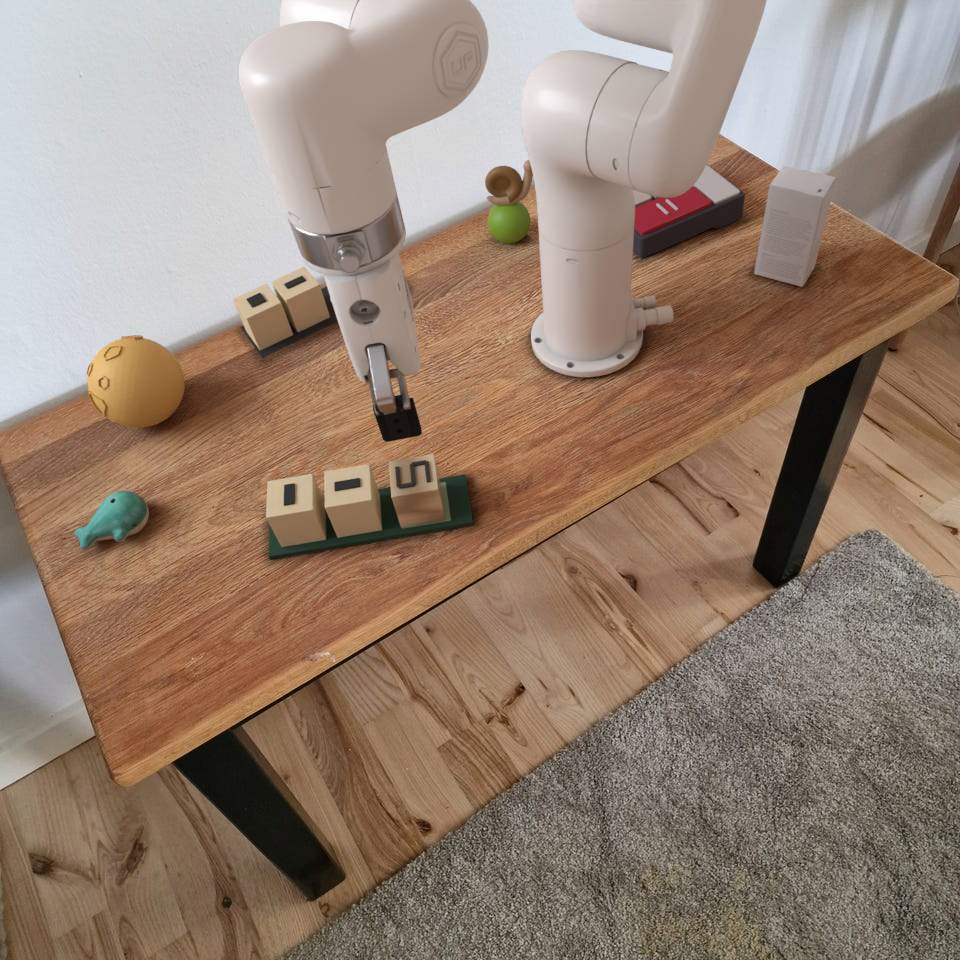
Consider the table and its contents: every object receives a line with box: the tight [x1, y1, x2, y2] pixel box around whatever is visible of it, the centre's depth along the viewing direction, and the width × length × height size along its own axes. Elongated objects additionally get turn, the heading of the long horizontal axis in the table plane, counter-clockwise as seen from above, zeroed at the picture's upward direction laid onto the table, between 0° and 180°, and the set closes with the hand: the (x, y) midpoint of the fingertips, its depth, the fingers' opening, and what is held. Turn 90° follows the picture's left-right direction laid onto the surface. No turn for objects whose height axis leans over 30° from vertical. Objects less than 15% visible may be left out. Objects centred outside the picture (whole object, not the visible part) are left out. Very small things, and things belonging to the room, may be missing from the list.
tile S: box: [388, 453, 446, 528], centre depth 79 cm, size 4×4×5 cm
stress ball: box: [86, 334, 186, 429], centre depth 90 cm, size 10×10×10 cm
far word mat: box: [232, 266, 338, 359], centre depth 100 cm, size 20×7×6 cm, turn 123°
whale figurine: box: [74, 490, 150, 551], centre depth 83 cm, size 6×7×4 cm
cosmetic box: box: [753, 165, 837, 288], centre depth 93 cm, size 6×4×12 cm
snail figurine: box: [484, 159, 534, 245], centre depth 103 cm, size 5×6×12 cm
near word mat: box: [265, 463, 474, 561], centre depth 79 cm, size 20×6×6 cm, turn 98°
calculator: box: [633, 163, 746, 259], centre depth 105 cm, size 11×4×15 cm
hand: (398, 393), depth 70 cm, fingers open, 9 cm apart
